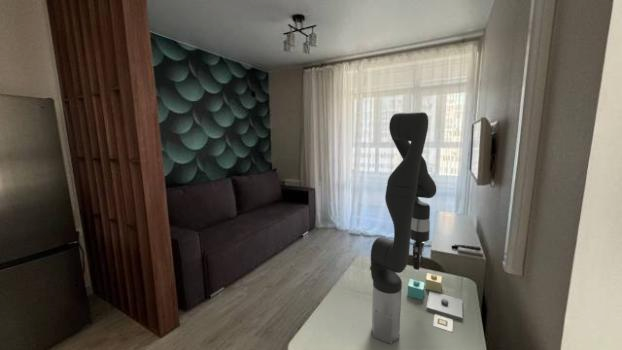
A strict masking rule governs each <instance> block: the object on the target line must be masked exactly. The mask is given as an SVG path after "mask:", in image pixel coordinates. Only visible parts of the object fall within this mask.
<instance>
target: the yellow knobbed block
mask: <svg viewBox="0 0 622 350" xmlns="http://www.w3.org/2000/svg"><path fill="white" fill-rule="evenodd" d="M442 279H443V276H442V275H438V274H435V273H434V274H433V273H428V272H427V273H426V277H425V290H429V291H432V292H435V293H441V292H442Z"/></svg>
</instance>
